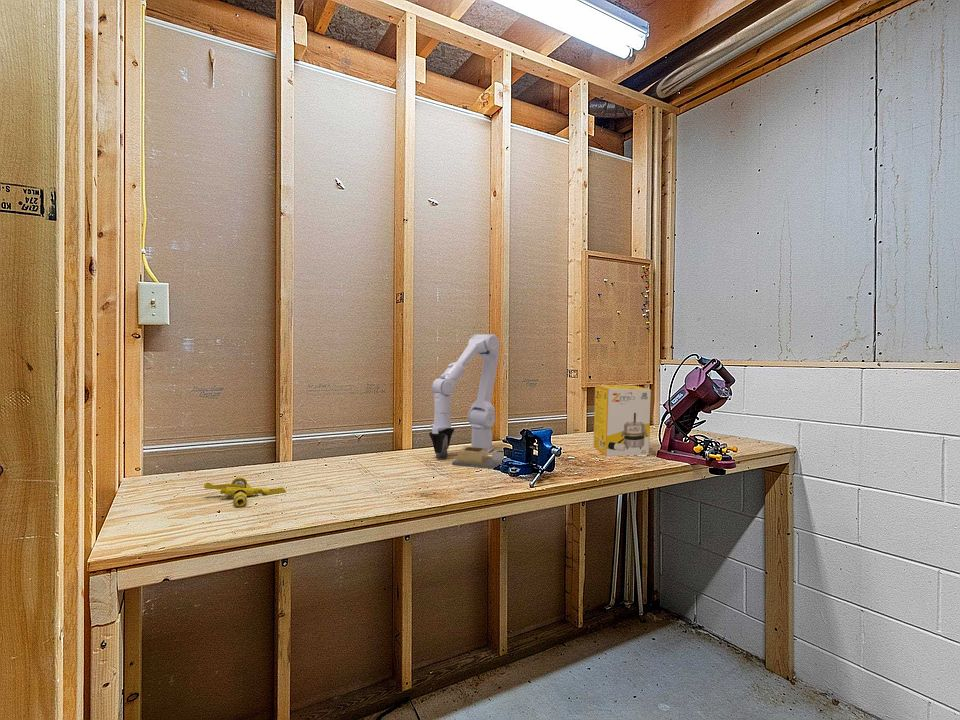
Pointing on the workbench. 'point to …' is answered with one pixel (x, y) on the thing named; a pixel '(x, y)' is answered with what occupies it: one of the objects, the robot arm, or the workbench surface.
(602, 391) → the packaging box
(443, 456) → the dark grey cylinder
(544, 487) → the workbench surface
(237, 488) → the sprinkler
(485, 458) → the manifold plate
